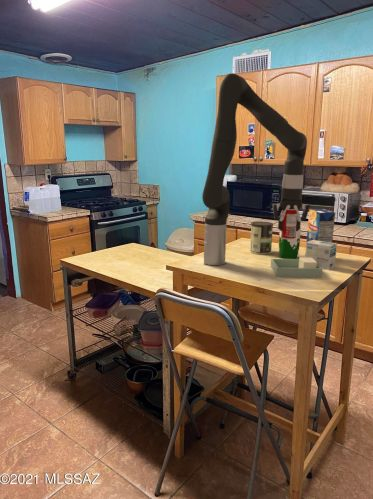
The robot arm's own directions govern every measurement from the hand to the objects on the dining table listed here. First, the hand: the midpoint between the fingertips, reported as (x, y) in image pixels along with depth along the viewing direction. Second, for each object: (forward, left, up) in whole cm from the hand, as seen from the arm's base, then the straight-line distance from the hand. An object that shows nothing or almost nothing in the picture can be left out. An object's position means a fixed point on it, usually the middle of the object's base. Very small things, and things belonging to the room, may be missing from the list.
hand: (288, 230), depth 150 cm
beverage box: (+19, +22, -18) cm, 34 cm away
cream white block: (+9, 0, -17) cm, 19 cm away
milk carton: (+6, +23, -18) cm, 30 cm away
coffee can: (-5, +33, -18) cm, 38 cm away
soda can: (0, 0, -3) cm, 3 cm away
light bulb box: (+16, +9, -18) cm, 26 cm away
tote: (+4, 0, -17) cm, 18 cm away
